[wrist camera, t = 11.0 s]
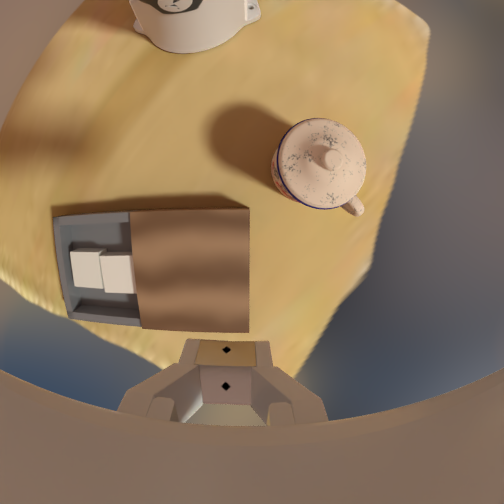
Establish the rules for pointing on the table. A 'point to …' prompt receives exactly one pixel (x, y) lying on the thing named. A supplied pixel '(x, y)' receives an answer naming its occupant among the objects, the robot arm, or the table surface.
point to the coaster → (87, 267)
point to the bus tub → (94, 236)
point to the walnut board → (192, 268)
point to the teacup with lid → (320, 166)
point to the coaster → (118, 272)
